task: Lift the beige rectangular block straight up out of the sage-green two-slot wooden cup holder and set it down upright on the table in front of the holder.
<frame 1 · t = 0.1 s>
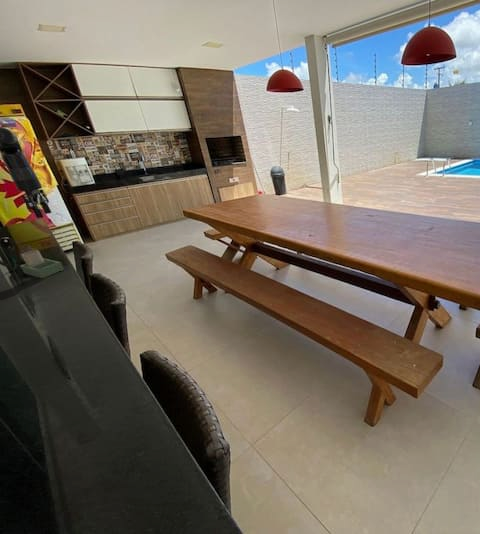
hand: (44, 215, 137), 24 cm above the countertop, tool pointing down, fingers open, 8 cm apart
vase: (34, 263, 151), on the countertop
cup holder: (44, 271, 140), on the countertop
beige rectangular block: (40, 270, 141), resting in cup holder
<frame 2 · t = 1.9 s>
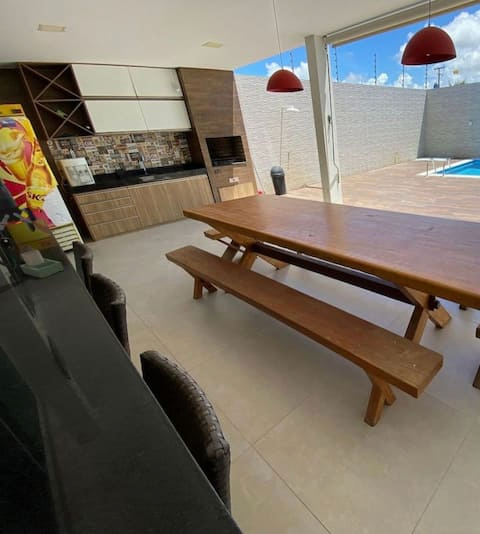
hand: (20, 234, 134), 17 cm above the countertop, tool pointing down, fingers open, 8 cm apart
nothing on the countertop moved.
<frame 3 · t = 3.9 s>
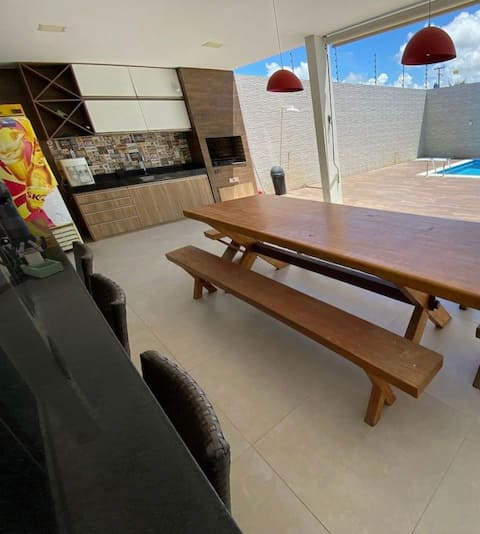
hand: (35, 261, 139), 5 cm above the countertop, tool pointing down, fingers closed on beige rectangular block, 5 cm apart
beige rectangular block: (40, 270, 141), resting in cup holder, touching gripper
everything else where it was.
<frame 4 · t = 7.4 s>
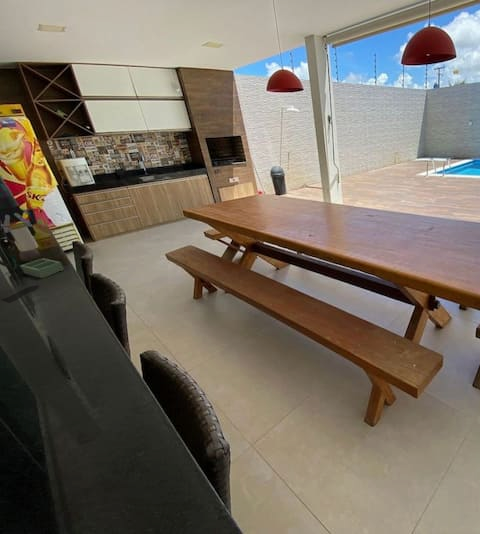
hand: (23, 238, 123), 19 cm above the countertop, tool pointing down, fingers closed on beige rectangular block, 5 cm apart
beige rectangular block: (29, 248, 125), point 14 cm above the countertop, touching gripper
everything else where it was.
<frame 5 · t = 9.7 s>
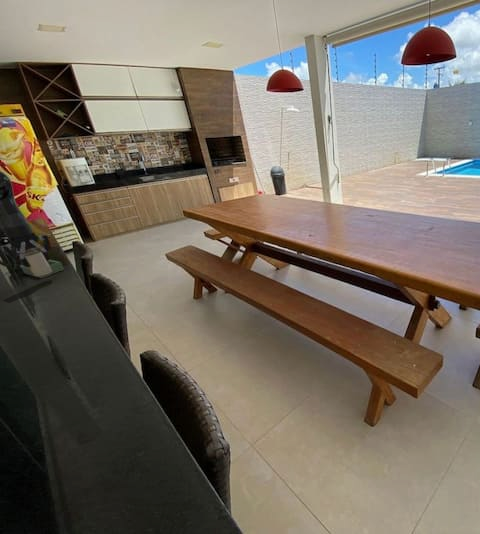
hand: (37, 263, 126), 8 cm above the countertop, tool pointing down, fingers closed on beige rectangular block, 5 cm apart
beige rectangular block: (43, 273, 128), point 4 cm above the countertop, touching gripper
everything else where it was.
when the fingers open (5 cm above the countertop, at t = 11.2 s): beige rectangular block stays where it is, on the countertop.
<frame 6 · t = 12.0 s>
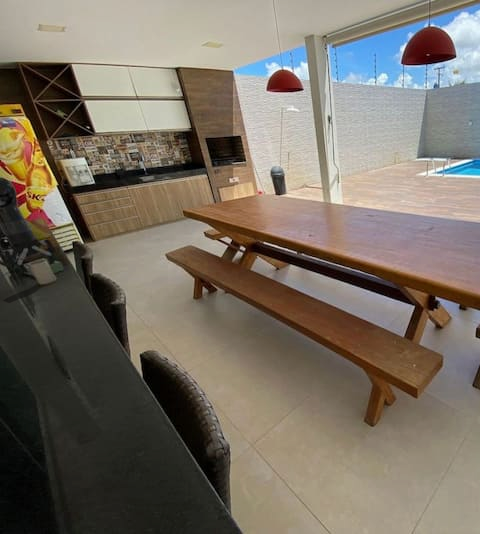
hand: (39, 268, 127), 6 cm above the countertop, tool pointing down, fingers open, 8 cm apart
beige rectangular block: (48, 281, 130), on the countertop
everything else where it was.
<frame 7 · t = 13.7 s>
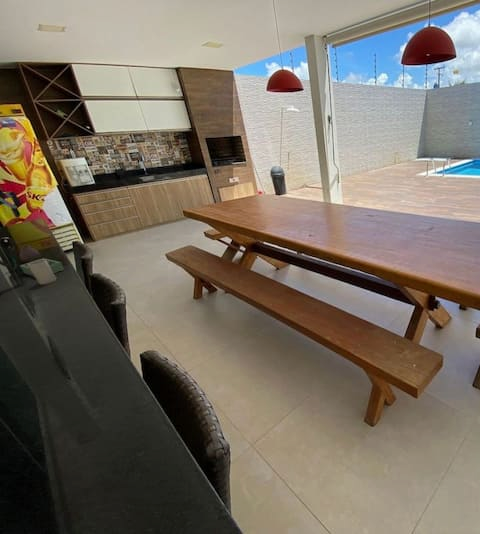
hand: (3, 220, 126), 25 cm above the countertop, tool pointing down, fingers open, 8 cm apart
nothing on the countertop moved.
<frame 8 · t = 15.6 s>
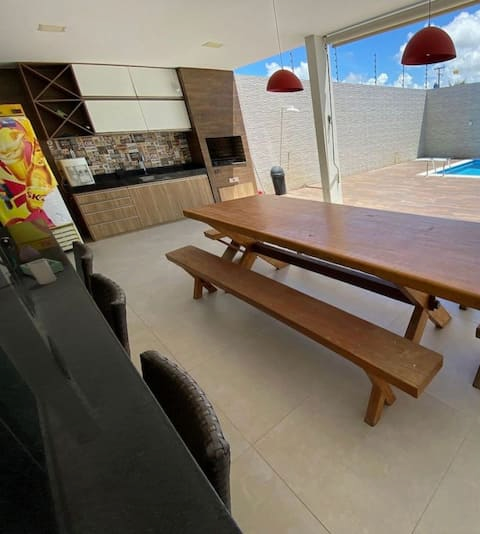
nothing on the countertop moved.
at the end: beige rectangular block inside the target area (0.1 cm from its centre), on the countertop; beige rectangular block tilted 0°; beige rectangular block touching countertop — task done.
